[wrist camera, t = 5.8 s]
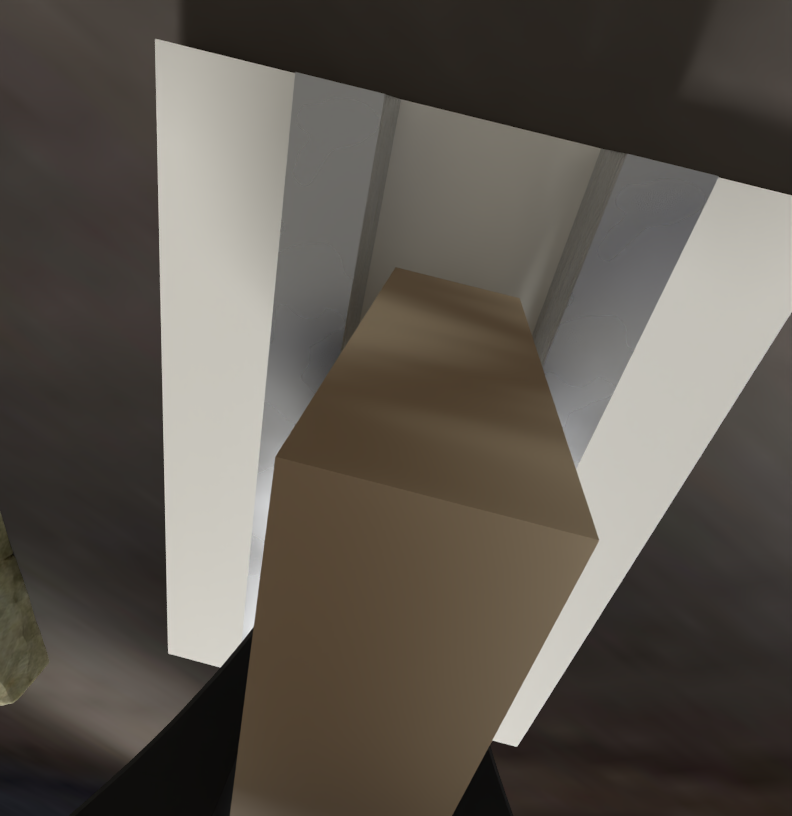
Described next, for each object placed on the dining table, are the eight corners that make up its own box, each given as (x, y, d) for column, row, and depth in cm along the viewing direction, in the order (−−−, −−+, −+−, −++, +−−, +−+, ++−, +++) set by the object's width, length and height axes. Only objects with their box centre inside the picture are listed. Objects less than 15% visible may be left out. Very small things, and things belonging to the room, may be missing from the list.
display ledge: (819, 202, 11) (936, 229, 8) (514, 715, 21) (520, 806, 18) (185, 46, 11) (88, 20, 8) (183, 627, 21) (138, 703, 18)
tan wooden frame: (522, 299, 10) (605, 542, 4) (379, 716, 17) (325, 1056, 10) (392, 266, 10) (269, 454, 4) (301, 695, 17) (201, 1022, 10)
